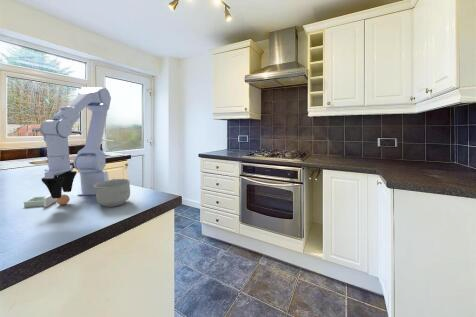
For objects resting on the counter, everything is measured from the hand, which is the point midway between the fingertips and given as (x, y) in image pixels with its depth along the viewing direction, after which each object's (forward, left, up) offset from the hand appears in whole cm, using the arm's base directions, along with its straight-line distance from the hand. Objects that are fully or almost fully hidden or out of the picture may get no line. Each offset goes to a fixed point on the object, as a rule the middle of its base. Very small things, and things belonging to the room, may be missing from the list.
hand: (62, 194), depth 75 cm
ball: (0, 0, -2) cm, 2 cm away
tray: (+8, -4, -4) cm, 10 cm away
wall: (+5, -3, -4) cm, 7 cm away
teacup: (-17, +2, -4) cm, 17 cm away
